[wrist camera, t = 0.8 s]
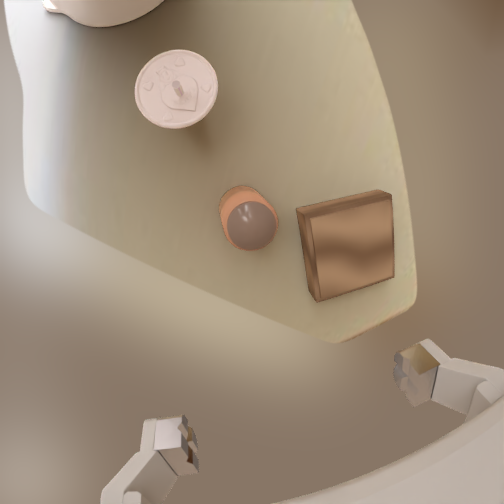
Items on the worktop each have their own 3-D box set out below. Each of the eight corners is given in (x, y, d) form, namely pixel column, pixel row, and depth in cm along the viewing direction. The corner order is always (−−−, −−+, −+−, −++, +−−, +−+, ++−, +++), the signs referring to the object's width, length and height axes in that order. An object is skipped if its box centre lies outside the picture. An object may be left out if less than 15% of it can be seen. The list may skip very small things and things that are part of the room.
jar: (214, 192, 34) (218, 207, 27) (259, 181, 34) (273, 193, 27) (224, 235, 36) (231, 259, 29) (268, 224, 36) (283, 245, 29)
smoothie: (176, 142, 31) (160, 149, 18) (139, 98, 28) (100, 76, 16) (225, 104, 30) (244, 85, 17) (188, 60, 28) (183, 13, 15)
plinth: (296, 208, 36) (305, 216, 33) (378, 189, 36) (393, 195, 33) (309, 290, 40) (317, 303, 37) (383, 267, 41) (395, 278, 38)
